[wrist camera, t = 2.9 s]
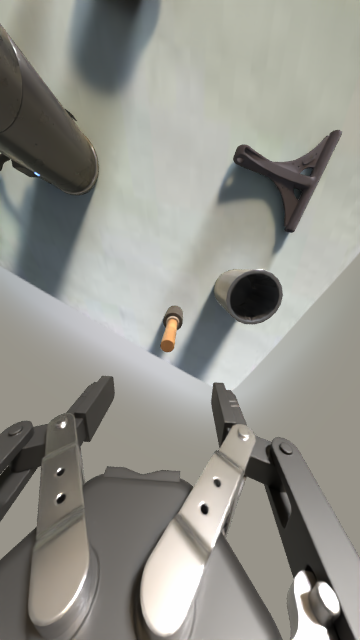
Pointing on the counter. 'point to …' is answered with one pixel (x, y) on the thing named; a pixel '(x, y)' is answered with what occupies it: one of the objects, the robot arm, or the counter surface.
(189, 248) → the counter surface
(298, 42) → the counter surface
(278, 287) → the grey metal cup
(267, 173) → the bracket
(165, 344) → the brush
